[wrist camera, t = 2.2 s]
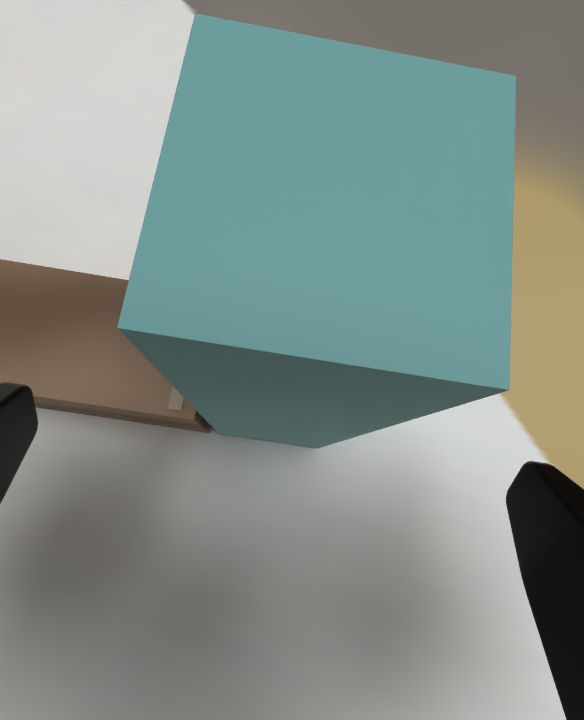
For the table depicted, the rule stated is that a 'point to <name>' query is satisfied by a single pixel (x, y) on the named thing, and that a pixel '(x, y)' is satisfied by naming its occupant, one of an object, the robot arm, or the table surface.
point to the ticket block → (81, 349)
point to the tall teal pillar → (326, 236)
